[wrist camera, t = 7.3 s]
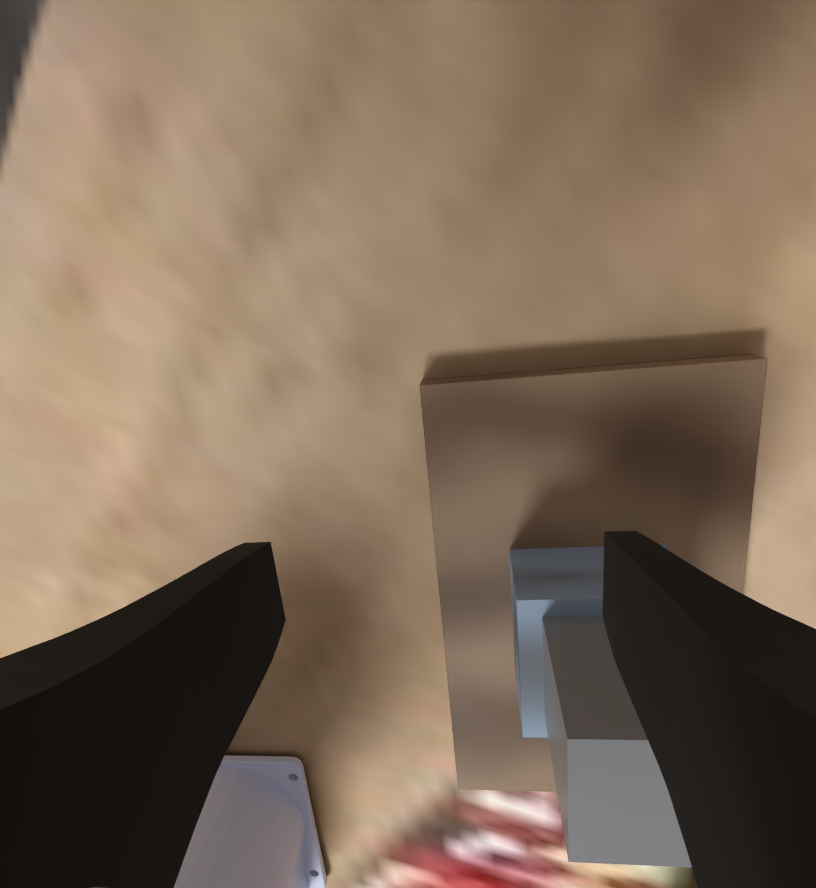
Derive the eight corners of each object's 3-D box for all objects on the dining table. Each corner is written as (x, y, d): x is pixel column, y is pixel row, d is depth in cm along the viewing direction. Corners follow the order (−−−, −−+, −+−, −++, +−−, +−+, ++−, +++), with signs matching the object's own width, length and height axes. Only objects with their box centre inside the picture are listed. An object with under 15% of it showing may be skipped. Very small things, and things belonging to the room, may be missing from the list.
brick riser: (712, 776, 25) (762, 879, 21) (458, 770, 27) (456, 865, 22) (752, 354, 19) (833, 378, 15) (422, 380, 21) (409, 408, 16)
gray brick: (670, 720, 19) (737, 869, 14) (544, 718, 20) (568, 861, 15) (677, 615, 18) (753, 741, 13) (542, 617, 18) (567, 739, 13)
